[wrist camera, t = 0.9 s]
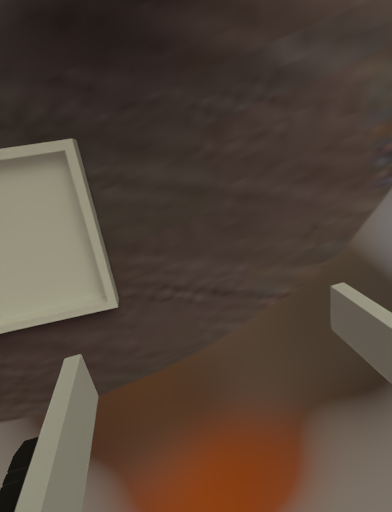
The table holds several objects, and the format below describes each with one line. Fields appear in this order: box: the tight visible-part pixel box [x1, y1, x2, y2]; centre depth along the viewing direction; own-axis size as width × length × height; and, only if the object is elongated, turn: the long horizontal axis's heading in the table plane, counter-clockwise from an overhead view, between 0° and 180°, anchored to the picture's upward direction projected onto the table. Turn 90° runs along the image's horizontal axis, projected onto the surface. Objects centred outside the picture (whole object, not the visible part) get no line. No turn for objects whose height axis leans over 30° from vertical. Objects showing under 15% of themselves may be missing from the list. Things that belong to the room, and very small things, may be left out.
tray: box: [0, 139, 119, 334], centre depth 33 cm, size 20×20×2 cm
